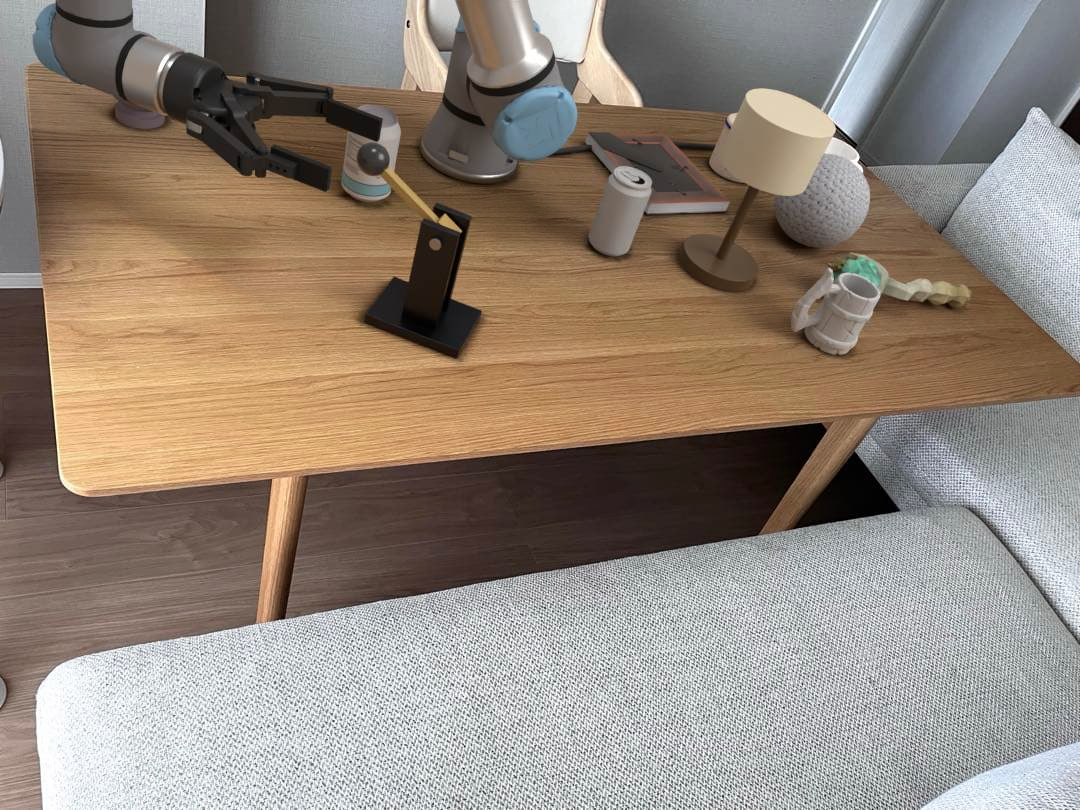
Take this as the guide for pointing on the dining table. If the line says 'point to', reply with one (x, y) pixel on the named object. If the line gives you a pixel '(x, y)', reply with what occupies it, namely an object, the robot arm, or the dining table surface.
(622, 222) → the beverage can
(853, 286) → the mug
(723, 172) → the teacup with lid
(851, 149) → the mug
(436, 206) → the switch bracket
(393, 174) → the lamp switch
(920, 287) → the scepter
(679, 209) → the picture frame
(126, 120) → the cat figurine
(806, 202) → the decorative ball
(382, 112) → the beverage can
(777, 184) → the lamp
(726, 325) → the dining table surface
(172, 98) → the robot arm
